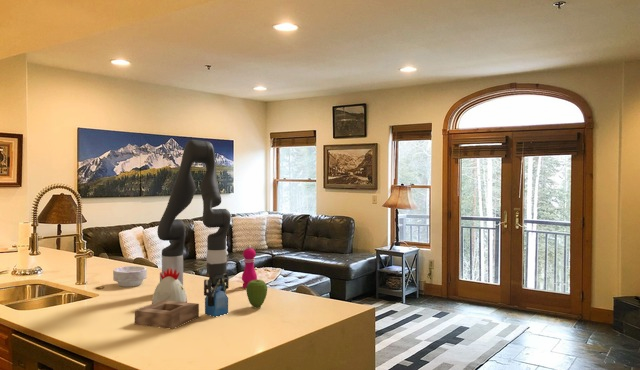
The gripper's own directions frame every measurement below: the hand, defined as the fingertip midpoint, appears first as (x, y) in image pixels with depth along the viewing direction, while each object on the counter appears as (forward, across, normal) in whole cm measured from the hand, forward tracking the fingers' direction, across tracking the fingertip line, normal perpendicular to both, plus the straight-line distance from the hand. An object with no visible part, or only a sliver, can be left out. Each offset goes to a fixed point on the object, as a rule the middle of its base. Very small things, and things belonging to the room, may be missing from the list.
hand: (216, 303), depth 192 cm
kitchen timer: (+4, -5, -25) cm, 26 cm away
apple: (+4, -14, +10) cm, 18 cm away
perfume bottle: (+4, 0, 0) cm, 4 cm away
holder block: (+4, +14, -12) cm, 19 cm away
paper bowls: (+4, -30, -66) cm, 73 cm away
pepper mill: (+4, -46, -10) cm, 47 cm away
